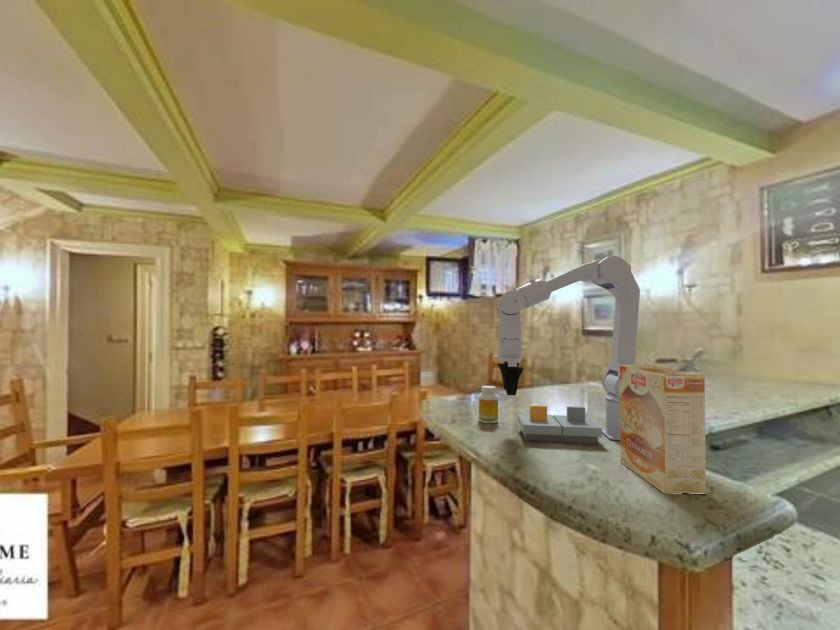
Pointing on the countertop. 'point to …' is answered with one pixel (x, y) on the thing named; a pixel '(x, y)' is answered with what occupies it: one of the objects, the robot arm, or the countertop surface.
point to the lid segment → (578, 423)
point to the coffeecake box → (663, 427)
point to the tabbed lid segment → (539, 422)
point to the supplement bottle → (488, 405)
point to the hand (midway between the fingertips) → (509, 392)
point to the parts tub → (561, 439)
